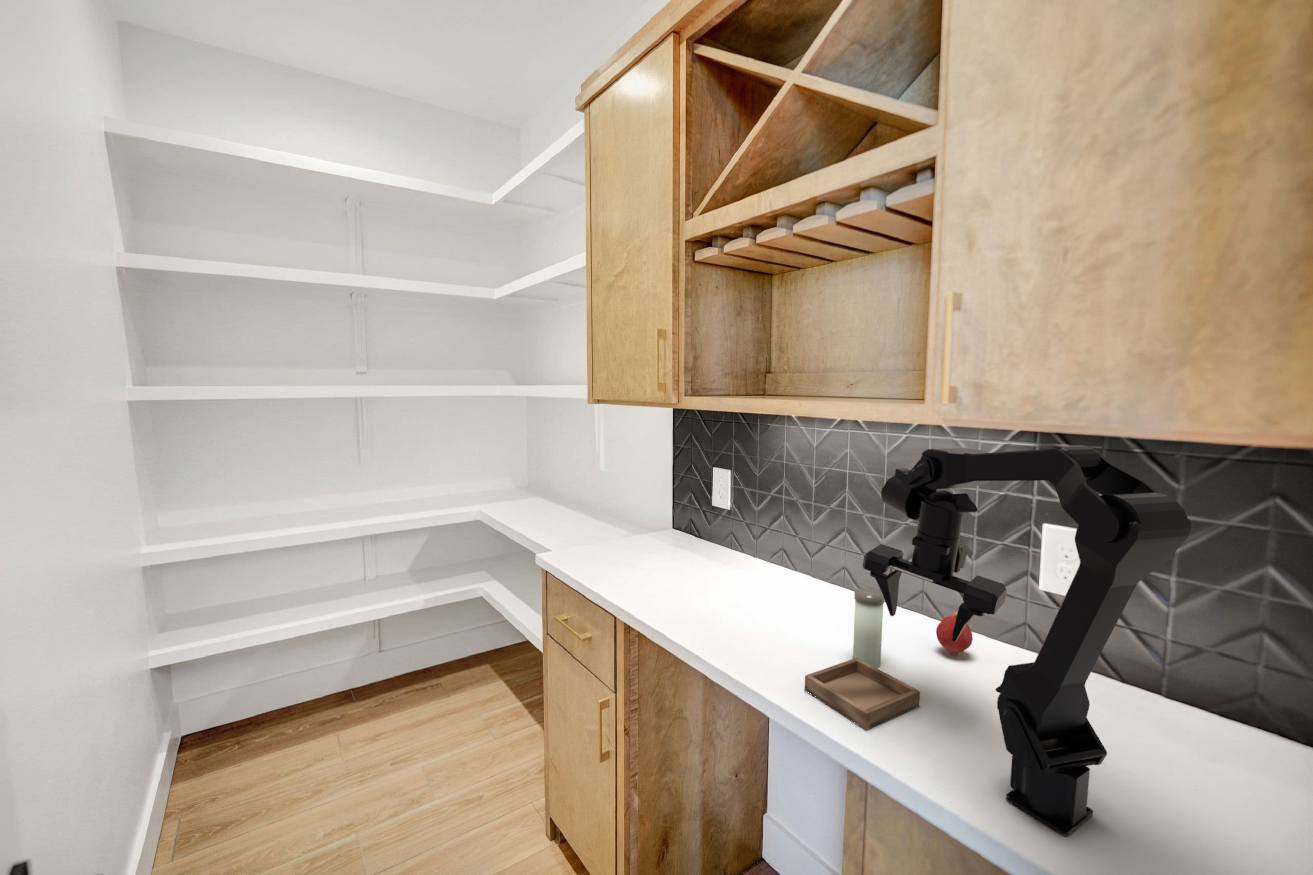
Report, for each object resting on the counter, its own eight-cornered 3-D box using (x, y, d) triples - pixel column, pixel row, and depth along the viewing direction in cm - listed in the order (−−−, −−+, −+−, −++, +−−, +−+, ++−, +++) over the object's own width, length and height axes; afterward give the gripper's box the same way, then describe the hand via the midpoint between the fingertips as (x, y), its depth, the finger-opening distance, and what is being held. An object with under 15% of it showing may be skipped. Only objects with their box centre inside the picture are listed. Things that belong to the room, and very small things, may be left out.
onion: (928, 649, 104) (930, 608, 104) (951, 644, 106) (953, 604, 106) (954, 664, 99) (957, 620, 98) (978, 658, 101) (981, 616, 100)
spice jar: (887, 664, 99) (890, 595, 98) (868, 671, 96) (871, 600, 95) (864, 652, 103) (867, 586, 102) (845, 658, 101) (848, 591, 99)
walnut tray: (919, 706, 86) (920, 691, 86) (866, 730, 80) (866, 713, 80) (855, 671, 96) (856, 657, 96) (804, 690, 90) (805, 675, 90)
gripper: (1025, 537, 81) (1006, 633, 85) (897, 503, 94) (885, 587, 98) (1003, 559, 74) (983, 664, 77) (867, 518, 87) (855, 609, 90)
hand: (922, 627), depth 86 cm, fingers open, 9 cm apart
